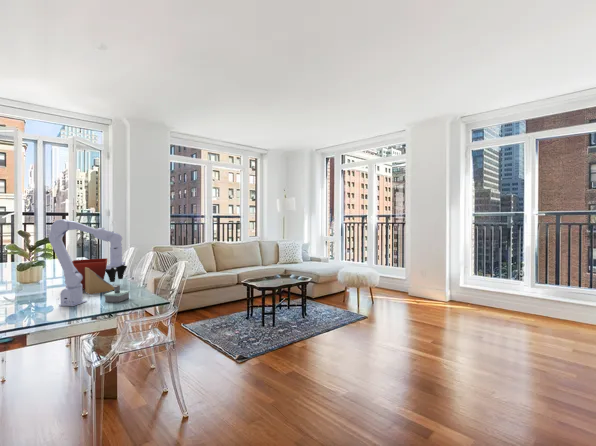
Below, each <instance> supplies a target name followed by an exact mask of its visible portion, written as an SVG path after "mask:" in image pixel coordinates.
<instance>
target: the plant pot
mask: <svg viewBox="0 0 596 446" xmlns="http://www.w3.org/2000/svg"><path fill="white" fill-rule="evenodd" d="M72 262H73V265H74V267H75V268H76V269H77V270H78V272H79V273H80V274H82V276H83V279H82V281H81V284H82V290H85V267H86V268H89V269H90V270H92V271H93V272H94V273H96V274H97V275H98V276H100V277H101V278H102V279H104V280H105V277H106V271H105V269H106V266H107V265H108V258H89V259H88V258H87V259H74V260H72Z"/></svg>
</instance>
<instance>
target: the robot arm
mask: <svg viewBox="0 0 596 446" xmlns="http://www.w3.org/2000/svg"><path fill="white" fill-rule="evenodd" d="M76 230H77V231H80V232H83V233H86V234H87V233H88V234H91V235H93V237H94V238H95V239H98V240H101V241H104V242H107V243H108V242H109V244H110V247H109V263H110V264H107V266H106V269H105V271H106V272H105V274H107V277H108V279H109V282H110V283H114V282H115V281H116V275H117V279H118V280H123V279H124V274H125V271H126V270H127V268H128V265H126V261H123V244H122V242H123V241H122V240H123V237H122V234H120V233H118V232H115V231H114V230H113V231H110V230H109V229H108V230H107V229H106V228H105V227H98V228H95V227H91V226H90V225H89V226H88V225H85V224H83V223H80V222H78V221H74V220H68V219H67V218H64V219H62V218H61V219H56V220H55V221H54V222H53V223H52V224H51V225H50V231H49V235H48V241H49V243H50V245H51V247H52V249H53V251H54V253H55V257H56V258H57V260H58V262H59V264H60V267H61V268H62V270H63V276H64V279H65V281H64V283H65V288H64V289H62V290H61V291H60V295H59V296H60V298H59V299H60V304H58V306H60V307H75V306H78V305H80V304H83V303H86V302H87V300H86V299H83V297H84V295H83V294H84V293H83V290H84V289H82V284H81V281H82V279H83V276H82V274H80V273H79V272H78V270H77V269H76V268H75V267H74V265H73V262H72V261H73V260H72V258H71V255H70V254H69V252H68V250H67V247H66V246H65V243H64V241H63V237H64V236H65V234H66V233H68V231H76Z"/></svg>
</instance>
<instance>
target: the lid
mask: <svg viewBox="0 0 596 446" xmlns="http://www.w3.org/2000/svg"><path fill="white" fill-rule="evenodd" d="M113 287H114V291H108V292H105V293H104V294H103V295H104V297H105V296H121V295H124V294H126V293H129V294H130V292H131V291H130V290H121V286H120V285H119V284H118V285H114V286H113Z"/></svg>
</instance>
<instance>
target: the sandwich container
mask: <svg viewBox="0 0 596 446" xmlns="http://www.w3.org/2000/svg"><path fill="white" fill-rule="evenodd" d="M110 290H114V286H113V285H112V284H110V283H109V282H107V281H106V280H105V278H104V279H102V278H101V277H100V276H98V275H97V274H96V273H94V272H93V271H92V270H90V269H89V268H86V267H85V289H84V291H85V293H86V294H89V295H94V294H101V293H107V292H111V291H110ZM106 291H107V292H106Z"/></svg>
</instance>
